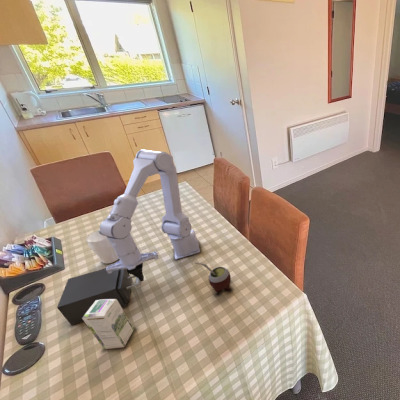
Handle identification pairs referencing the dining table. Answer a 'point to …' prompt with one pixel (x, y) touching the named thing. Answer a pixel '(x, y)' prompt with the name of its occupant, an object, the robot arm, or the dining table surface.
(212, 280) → the mate gourd
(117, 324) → the syrup box
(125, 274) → the dark grey drawer
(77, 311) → the black drawer box
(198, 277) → the dining table surface
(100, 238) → the cup
